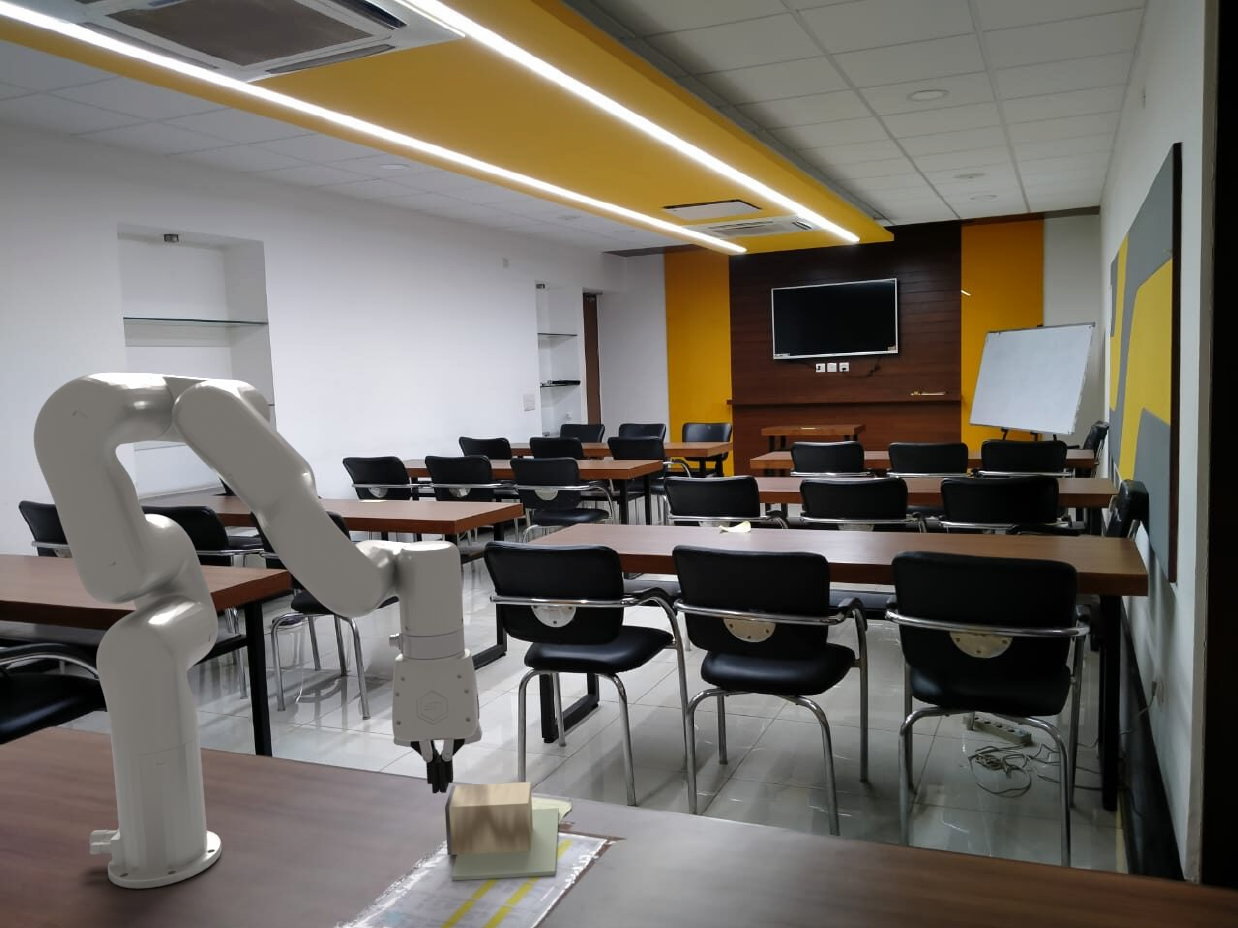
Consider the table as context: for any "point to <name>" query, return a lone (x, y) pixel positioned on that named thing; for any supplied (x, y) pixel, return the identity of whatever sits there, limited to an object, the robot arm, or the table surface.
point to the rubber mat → (516, 854)
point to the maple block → (489, 818)
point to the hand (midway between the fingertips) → (440, 788)
